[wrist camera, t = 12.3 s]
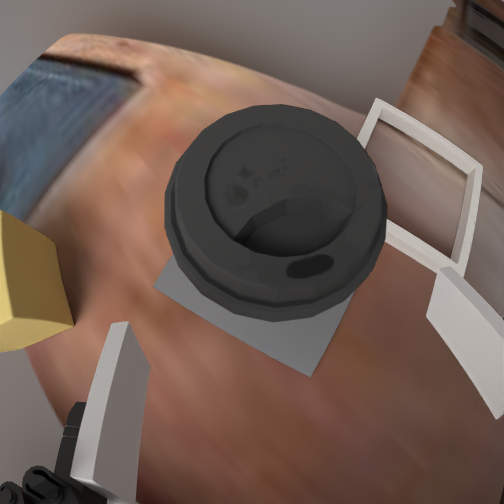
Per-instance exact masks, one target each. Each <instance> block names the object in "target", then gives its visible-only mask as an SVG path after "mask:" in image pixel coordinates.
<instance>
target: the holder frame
mask: <svg viewBox="0 0 504 504" xmlns="http://www.w3.org/2000/svg"><path fill="white" fill-rule="evenodd" d="M378 118H379V119H381V120H383V121H385V122H387V123H389V124H390V125H392V126H394V127H396V128H397V129H399V130H401V131H403V132H404V133H406V134H408V135H409V136H411V137H413V138H414V139H416V140H417V141H419V142H421V143H422V144H424V145H425V146H427V147H429V148H430V149H432V150H433V151H435V152H436V153H438V154H439V155H441V156H442V157H444V158H445V159H447V160H448V161H449V162H451V163H452V164H454V165H455V166H456V167H458V168H459V169H461V170H462V171H463V172H465V173H466V174H467V175H468V176H467V182H466V189H465V195H464V200H463V206H462V211H461V216H460V221H459V225H458V230H457V234H456V238H455V242H454V246H453V250H452V254H451V258H450V259H449V258H448V257H446V256H445V255H443V254H442V253H440V252H439V251H437V250H436V249H434V248H433V247H431V246H430V245H428V244H427V243H425V242H424V241H422V240H420V239H419V238H417V237H416V236H414V235H413V234H411V233H409V232H408V231H406V230H404V229H403V228H401V227H400V226H398V225H396V224H395V223H393V222H391V221H390V220H388V219H387V225H386V239H385V242H386V243H388V244H390V245H391V246H393V247H395V248H396V249H398V250H400V251H401V252H403V253H405V254H406V255H408V256H410V257H411V258H413V259H414V260H416V261H418V262H419V263H421V264H422V265H424V266H426V267H427V268H429V269H430V270H432V271H433V272H435V273H436V274H437V272H438V269H440V268H444V267H448V266H451V267H452V268H453V269H454V270H455V271H456V272H457V273H458V274H459V275H460V276H461V277H464V274H465V270H466V266H467V262H468V258H469V253H470V249H471V244H472V239H473V234H474V229H475V224H476V218H477V212H478V205H479V198H480V190H481V181H482V171H483V166H482V165H481V164H480V163H478V162H477V161H476V160H474V159H473V158H472V157H471V156H469V155H468V154H467V153H465V152H464V151H462V150H461V149H460V148H458V147H457V146H455V145H454V144H453V143H451V142H450V141H448V140H447V139H445V138H444V137H442V136H441V135H439V134H438V133H436V132H435V131H433V130H432V129H430V128H429V127H427V126H425V125H424V124H422V123H421V122H419V121H417V120H416V119H414V118H412V117H411V116H409V115H407V114H406V113H404V112H402V111H400V110H399V109H397V108H395V107H393V106H391V105H389V104H388V103H386V102H384V101H382V100H380V99H378V98H376V99H375V102H374V103H373V106H372V108H371V110H370V112H369V114H368V116H367V118H366V120H365V123H364V125H363V127H362V129H361V131H360V133H359V135H358V137H357V140H358V141H359V142H360V144H361V145H362V146H363V148H364V149H365V147H366V145H367V142H368V140H369V138H370V136H371V133H372V131H373V129H374V127H375V124H376V122H377V120H378Z"/></svg>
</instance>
